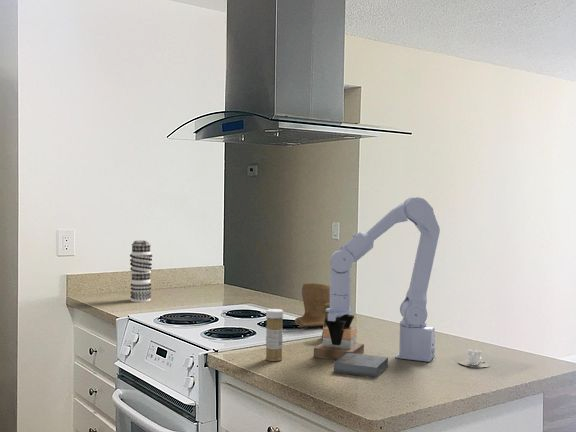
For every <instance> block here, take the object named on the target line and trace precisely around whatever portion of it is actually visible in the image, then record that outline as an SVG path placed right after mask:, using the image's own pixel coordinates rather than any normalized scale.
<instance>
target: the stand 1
mask: <svg viewBox="0 0 576 432" xmlns="http://www.w3.org/2000/svg"><path fill="white" fill-rule="evenodd" d="M347 353H354V354H362V355H364V353H365V344H364V343H360V342H359V343H357V342H356V346H354V347H353V348H352V349H342V348H333V347H325V346H323V342H322V343H320V344H318V345H316V346H315V347H313V358H319V359H327V360H335V361H337V360H338V359H339V358H341V357H342V356H344V355H345V354H347Z"/></svg>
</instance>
